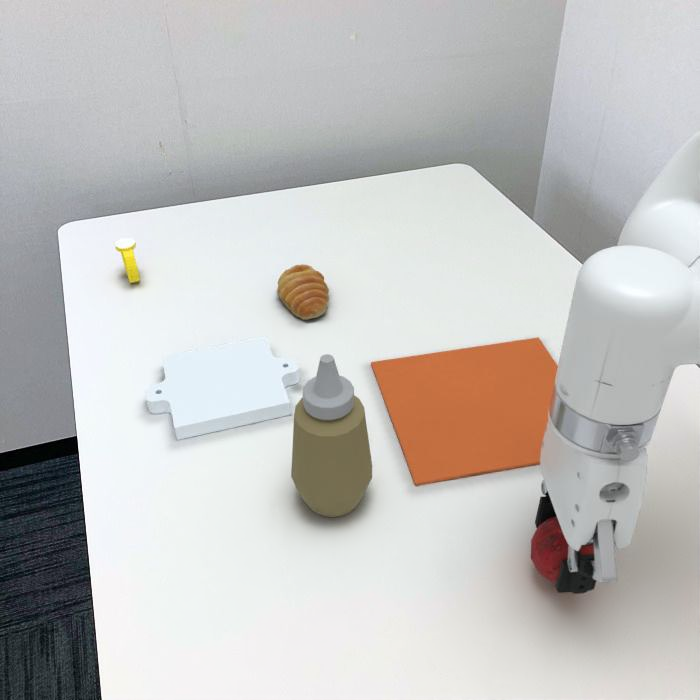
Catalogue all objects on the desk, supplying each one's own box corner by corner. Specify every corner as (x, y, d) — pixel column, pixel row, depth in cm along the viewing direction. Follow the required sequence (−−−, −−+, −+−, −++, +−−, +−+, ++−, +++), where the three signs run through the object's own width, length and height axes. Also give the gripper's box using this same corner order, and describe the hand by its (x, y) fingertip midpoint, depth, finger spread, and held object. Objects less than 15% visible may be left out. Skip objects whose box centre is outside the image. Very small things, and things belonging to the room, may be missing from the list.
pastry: (339, 317, 99) (338, 293, 96) (290, 327, 97) (288, 304, 95) (319, 280, 106) (318, 258, 103) (274, 290, 104) (271, 267, 102)
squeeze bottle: (283, 519, 73) (267, 381, 61) (306, 459, 79) (295, 325, 68) (362, 534, 71) (361, 396, 60) (380, 472, 77) (382, 336, 66)
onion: (543, 610, 65) (557, 554, 60) (514, 556, 69) (526, 501, 64) (602, 594, 66) (622, 538, 61) (570, 542, 70) (586, 486, 65)
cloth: (538, 339, 94) (538, 337, 94) (612, 451, 79) (613, 448, 79) (371, 364, 91) (370, 361, 91) (415, 485, 76) (415, 483, 76)
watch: (120, 269, 109) (111, 234, 105) (139, 265, 110) (130, 230, 106) (127, 290, 105) (118, 254, 101) (146, 286, 106) (138, 250, 102)
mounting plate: (286, 343, 95) (285, 332, 93) (312, 409, 85) (311, 397, 84) (143, 372, 91) (140, 360, 89) (154, 445, 81) (150, 432, 80)
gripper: (704, 495, 48) (640, 643, 59) (612, 334, 61) (574, 480, 72) (590, 503, 47) (547, 650, 59) (523, 339, 61) (499, 484, 72)
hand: (562, 555), depth 65 cm, fingers closed on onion, 5 cm apart
